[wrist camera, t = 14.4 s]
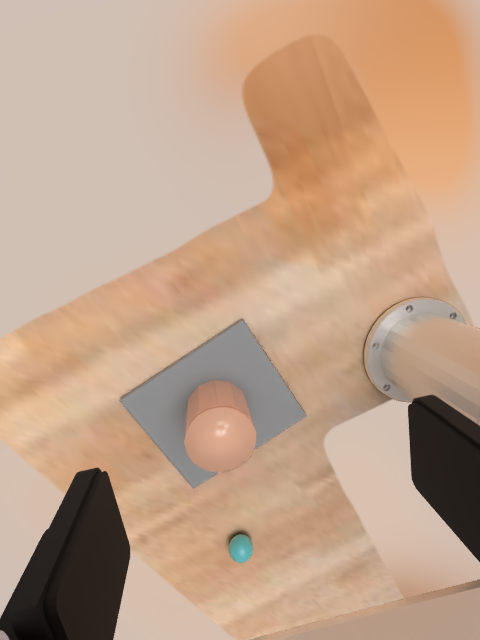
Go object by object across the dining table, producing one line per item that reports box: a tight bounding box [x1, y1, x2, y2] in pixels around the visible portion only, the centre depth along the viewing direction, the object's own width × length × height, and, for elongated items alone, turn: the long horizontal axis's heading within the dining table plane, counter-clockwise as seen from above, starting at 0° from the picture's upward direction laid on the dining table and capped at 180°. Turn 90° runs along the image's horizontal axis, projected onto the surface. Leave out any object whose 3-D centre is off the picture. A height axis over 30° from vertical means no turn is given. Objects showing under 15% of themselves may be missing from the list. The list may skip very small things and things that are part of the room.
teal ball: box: [229, 534, 253, 563], centre depth 44 cm, size 3×3×3 cm
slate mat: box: [120, 319, 306, 489], centre depth 40 cm, size 16×14×1 cm
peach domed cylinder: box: [184, 380, 257, 472], centre depth 37 cm, size 7×7×6 cm
